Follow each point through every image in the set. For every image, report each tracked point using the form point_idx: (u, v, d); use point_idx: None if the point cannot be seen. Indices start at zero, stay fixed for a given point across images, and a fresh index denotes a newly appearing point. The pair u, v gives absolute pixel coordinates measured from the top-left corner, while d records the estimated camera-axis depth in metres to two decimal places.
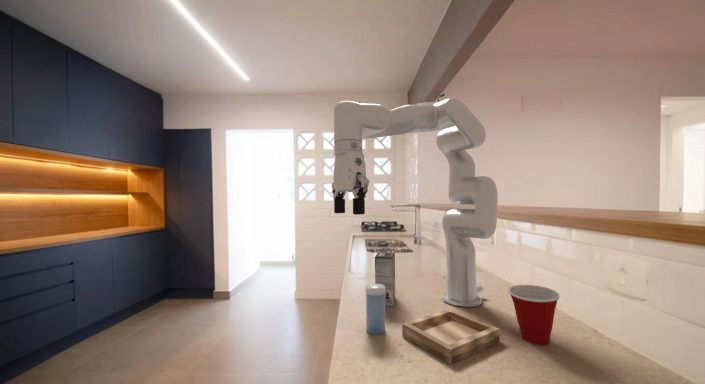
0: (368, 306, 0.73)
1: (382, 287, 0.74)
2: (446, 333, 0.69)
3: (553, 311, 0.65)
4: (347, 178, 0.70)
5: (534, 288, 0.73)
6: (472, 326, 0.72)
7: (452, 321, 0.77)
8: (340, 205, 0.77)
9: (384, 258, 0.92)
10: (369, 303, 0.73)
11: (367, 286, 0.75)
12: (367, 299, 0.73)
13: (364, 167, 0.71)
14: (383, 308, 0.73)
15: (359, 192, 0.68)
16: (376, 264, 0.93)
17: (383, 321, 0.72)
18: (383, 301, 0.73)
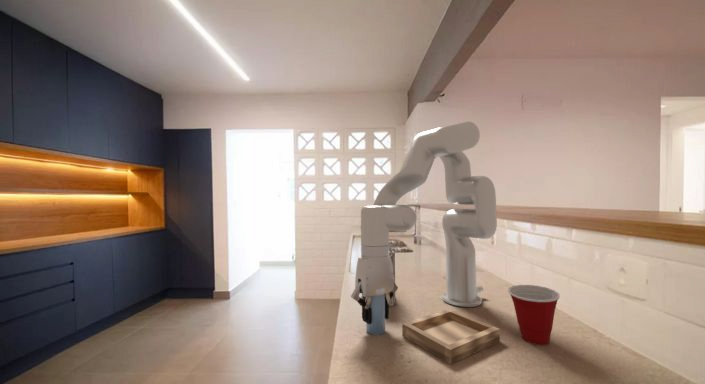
0: None
1: None
2: (446, 333, 0.69)
3: (553, 311, 0.65)
4: (389, 281, 0.74)
5: (534, 288, 0.73)
6: (472, 326, 0.72)
7: (452, 321, 0.77)
8: None
9: None
10: None
11: None
12: None
13: None
14: (383, 308, 0.73)
15: (390, 297, 0.76)
16: None
17: (383, 321, 0.72)
18: (383, 301, 0.73)
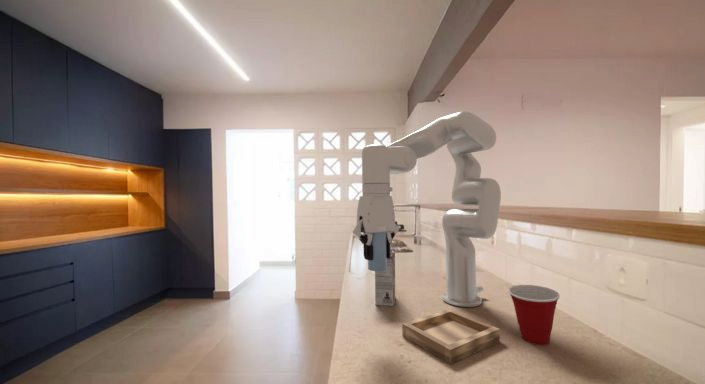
0: None
1: None
2: (446, 333, 0.69)
3: (553, 311, 0.65)
4: (391, 220, 0.75)
5: (534, 288, 0.73)
6: (472, 326, 0.72)
7: (452, 321, 0.77)
8: None
9: None
10: None
11: None
12: None
13: None
14: (384, 246, 0.73)
15: (391, 237, 0.77)
16: None
17: (384, 258, 0.73)
18: (384, 239, 0.73)
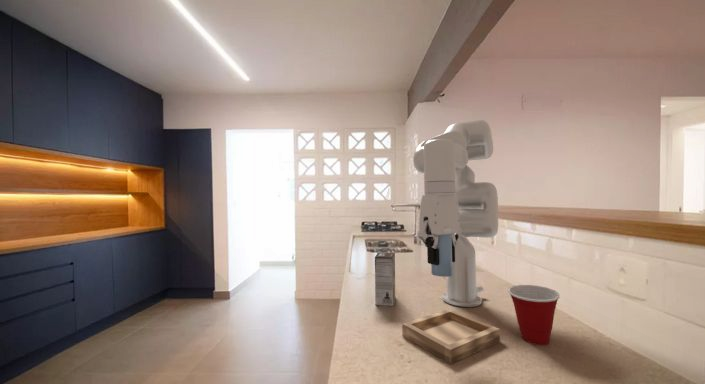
0: None
1: (449, 227, 0.68)
2: (446, 333, 0.69)
3: (553, 311, 0.65)
4: (456, 221, 0.69)
5: (534, 288, 0.73)
6: (472, 326, 0.72)
7: (452, 321, 0.77)
8: None
9: (384, 258, 0.92)
10: None
11: None
12: None
13: None
14: (451, 249, 0.67)
15: None
16: (376, 264, 0.93)
17: (451, 263, 0.67)
18: (451, 241, 0.68)
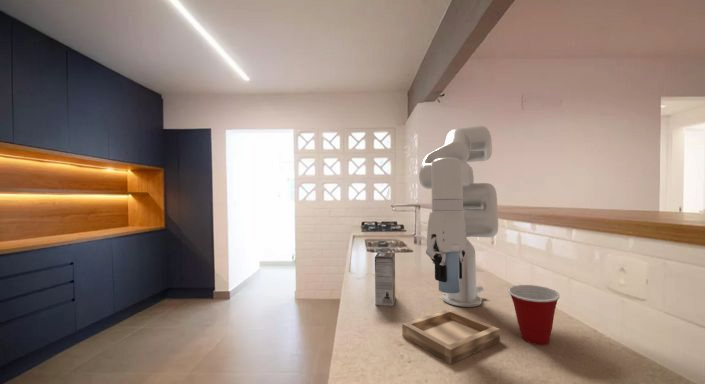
0: None
1: None
2: (446, 333, 0.69)
3: (553, 311, 0.65)
4: (463, 238, 0.70)
5: (534, 288, 0.73)
6: (472, 326, 0.72)
7: (452, 321, 0.77)
8: None
9: (384, 258, 0.92)
10: None
11: None
12: None
13: None
14: (458, 266, 0.68)
15: None
16: (376, 264, 0.93)
17: (458, 280, 0.68)
18: (458, 258, 0.69)
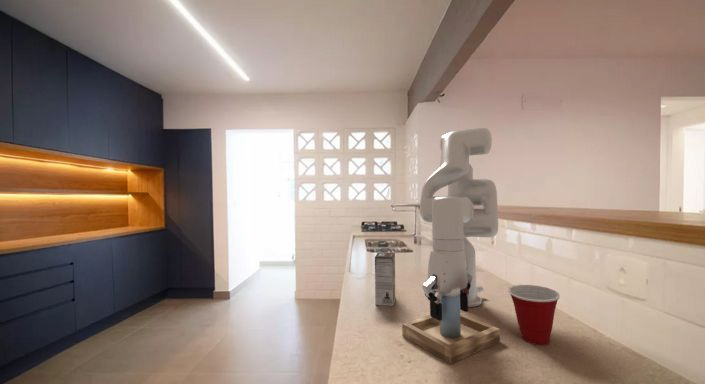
0: (444, 307, 0.68)
1: None
2: None
3: (553, 311, 0.65)
4: (464, 277, 0.70)
5: (534, 288, 0.73)
6: (472, 326, 0.72)
7: None
8: None
9: (384, 258, 0.92)
10: (444, 304, 0.68)
11: None
12: (441, 300, 0.69)
13: None
14: (459, 310, 0.68)
15: (467, 288, 0.73)
16: (376, 264, 0.93)
17: (459, 324, 0.68)
18: (459, 302, 0.68)
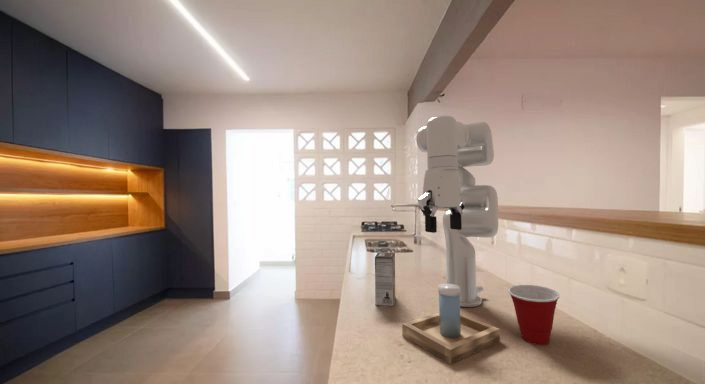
0: (443, 307, 0.68)
1: (457, 287, 0.69)
2: None
3: (553, 311, 0.65)
4: (458, 195, 0.72)
5: (534, 288, 0.73)
6: (472, 326, 0.72)
7: None
8: None
9: (384, 258, 0.92)
10: (444, 304, 0.68)
11: (440, 286, 0.70)
12: (441, 300, 0.69)
13: None
14: (459, 310, 0.68)
15: (461, 209, 0.75)
16: (376, 264, 0.93)
17: (459, 324, 0.68)
18: (459, 302, 0.68)
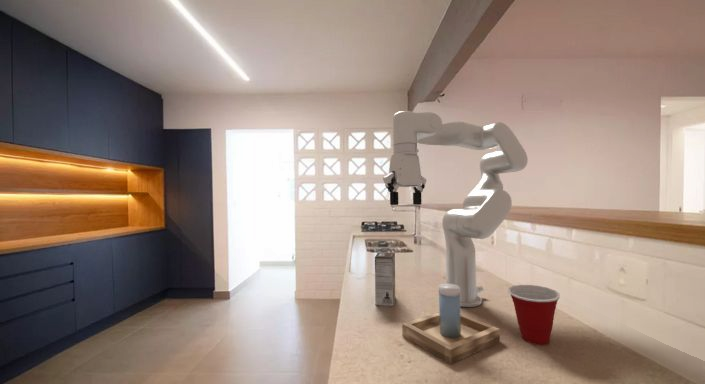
0: (444, 307, 0.68)
1: (457, 287, 0.69)
2: None
3: (553, 311, 0.65)
4: (418, 176, 0.88)
5: (534, 288, 0.73)
6: (472, 326, 0.72)
7: None
8: None
9: (384, 258, 0.92)
10: (444, 304, 0.68)
11: (440, 286, 0.70)
12: (442, 300, 0.69)
13: None
14: (459, 310, 0.68)
15: (422, 188, 0.91)
16: (376, 264, 0.93)
17: (459, 324, 0.68)
18: (459, 302, 0.68)
